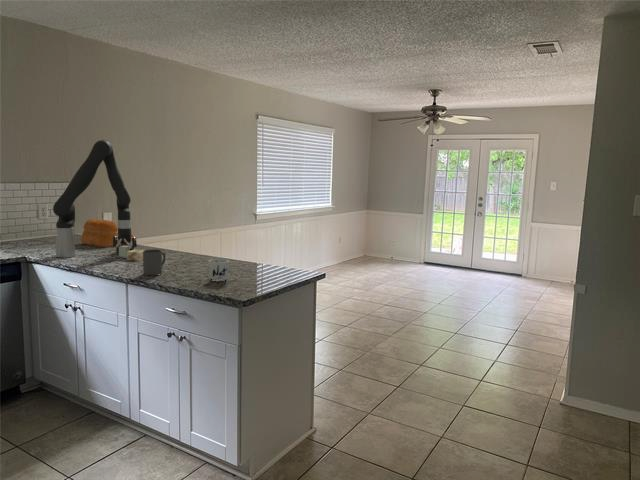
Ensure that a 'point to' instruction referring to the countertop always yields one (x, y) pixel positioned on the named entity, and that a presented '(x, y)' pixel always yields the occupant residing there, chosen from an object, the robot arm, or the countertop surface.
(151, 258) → the mug
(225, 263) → the mug
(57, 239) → the robot arm
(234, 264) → the countertop surface
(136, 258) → the oak block
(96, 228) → the bread
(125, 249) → the sage block
